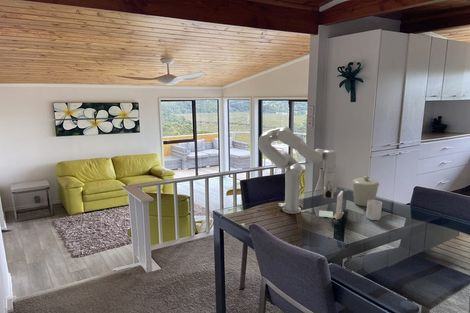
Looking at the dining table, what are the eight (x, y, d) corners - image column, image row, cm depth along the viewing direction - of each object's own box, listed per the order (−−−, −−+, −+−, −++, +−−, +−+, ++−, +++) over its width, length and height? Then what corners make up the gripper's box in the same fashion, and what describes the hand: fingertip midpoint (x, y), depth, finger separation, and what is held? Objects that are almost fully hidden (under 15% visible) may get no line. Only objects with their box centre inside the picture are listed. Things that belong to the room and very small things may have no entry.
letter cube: (323, 198, 217) (323, 189, 216) (323, 194, 223) (324, 186, 221) (333, 198, 216) (333, 189, 214) (333, 195, 221) (333, 186, 220)
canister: (345, 203, 241) (348, 175, 236) (358, 197, 253) (360, 170, 247) (369, 211, 228) (372, 182, 223) (381, 204, 240) (385, 176, 234)
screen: (332, 218, 218) (334, 195, 213) (337, 212, 227) (338, 190, 223) (339, 220, 215) (341, 196, 211) (343, 213, 225) (345, 191, 220)
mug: (380, 222, 212) (382, 206, 209) (365, 219, 216) (366, 203, 213) (380, 214, 223) (382, 199, 220) (366, 212, 226) (368, 197, 224)
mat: (318, 216, 220) (318, 215, 220) (319, 211, 228) (319, 210, 228) (333, 218, 218) (333, 217, 218) (332, 212, 226) (332, 211, 226)
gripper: (323, 165, 224) (322, 190, 228) (323, 172, 208) (322, 200, 212) (335, 165, 222) (333, 191, 226) (335, 173, 206) (334, 200, 210)
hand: (328, 195), depth 219 cm, fingers closed on letter cube, 6 cm apart
